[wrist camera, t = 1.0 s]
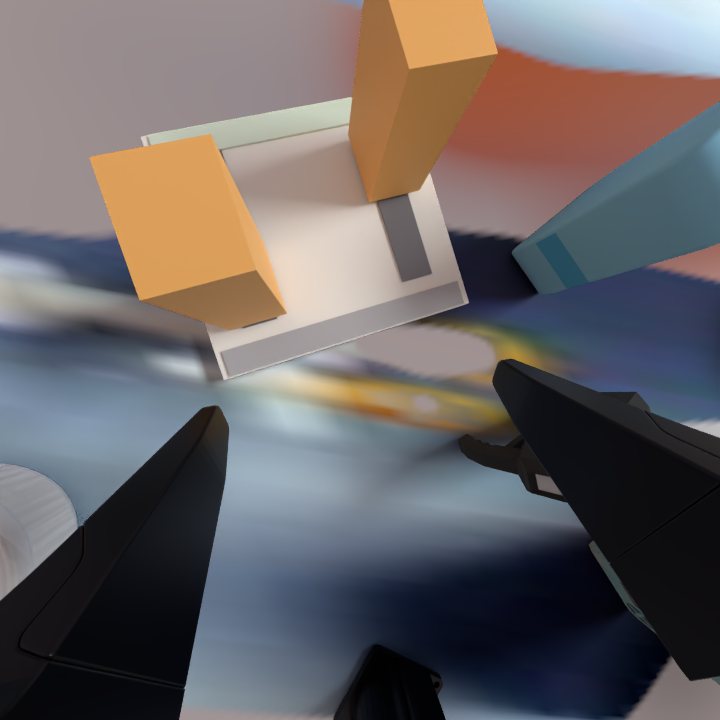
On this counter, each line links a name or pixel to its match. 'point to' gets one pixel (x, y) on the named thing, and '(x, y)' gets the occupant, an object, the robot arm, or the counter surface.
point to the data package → (634, 213)
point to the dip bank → (326, 237)
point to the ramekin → (30, 522)
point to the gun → (528, 455)
